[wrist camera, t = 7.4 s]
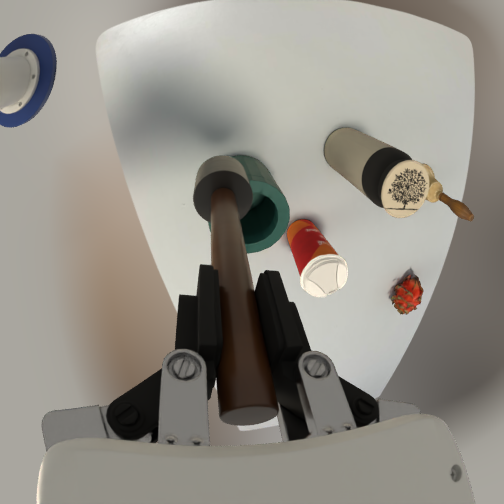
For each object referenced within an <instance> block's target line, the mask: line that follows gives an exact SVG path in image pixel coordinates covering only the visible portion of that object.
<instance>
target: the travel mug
mask: <svg viewBox="0 0 504 504" xmlns="http://www.w3.org/2000/svg"><path fill="white" fill-rule="evenodd" d="M324 153H325V158H326V161H327V162H328V164H329V165H330V166H331V167H332V168H333V169H334V170H336V171H337V172H338V173H339V174H341V175H342V176H343V177H344V178H345V179H347V180H348V181H349V182H350V183H351V184H353V185H354V186H355V187H356V188H357V189H359V190H360V191H361V192H362V193H363V194H364V195H366V196H367V197H368V198H369V199H370V200H371V201H372V202H373V203H375V204H376V205H377V206H379V207H382V208H384V209H385V210H386V212H387V213H388V214H390V215H391V216H393V217H396V218H404V217H408V216H410V215H412V214H413V213H415V212H416V211H417V210H418V209H419V208H420V207H421V206H422V204H423V203H424V201H425V199H426V197H427V194H428V191H429V176H428V173H427V171H426V169H425V167H424V166H423V165H422V164H421V163H419V162H417V161H414V160H412V159H411V157H410V156H409V155H407V154H406V153H404V152H402V151H400V150H398V149H396V148H394V147H392V146H390V145H388V144H386V143H384V142H382V141H380V140H377V139H375V138H373V137H371V136H369V135H366V134H364V133H362V132H359V131H357V130H354V129H352V128H340V129H338V130H336V131H334V132H333V133H332V134H331V135H330V136H329V138H328V139H327V141H326V144H325V149H324Z"/></svg>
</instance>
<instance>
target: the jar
mask: <svg viewBox="0 0 504 504" xmlns="http://www.w3.org/2000/svg"><path fill="white" fill-rule="evenodd" d="M232 158H234V159H236V160H237V161H239V162H240V163H241V165H242V166H243V167H244V169H245V172H246V175H247V177H248V180H249V183H250V186H251V188H252V192H253V202H252V205H251V208H250V210H249V211H248V213H247V214H246V215H245V216H244V217H243V218H242V219H240V222H241V227H242V232H243V237H244V242H245V247H246V252H247V253H254V252H259V251H262V250H264V249H266V248H269V247H271V246H272V245H273V244H274V243H276V242H277V241H278V240H279V239H280V238H281V237H282V235H283V234H284V232H285V231H286V229H287V226H288V223H289V219H290V214H289V206H288V203H287V201H286V198H285V196H284V195H283V193H282V192H281V190H280V188H279V187H278V185H277V184H276V182H275V180H274V179H273V177H272V176H271V174H270V172H269V171H268V169H267V168H266V167H265V166H264V165H263V164H262V163H261V162H260V161H259V160H257V159H255V158H253V157H249V156H244V155H238V156H233V157H232ZM208 223H209V228H210V232H211V223H210V222H208Z"/></svg>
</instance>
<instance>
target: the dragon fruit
mask: <svg viewBox="0 0 504 504" xmlns="http://www.w3.org/2000/svg"><path fill="white" fill-rule="evenodd" d="M404 280H405V281H404V282H403V284H402V283H401V284H398V286H397V285H396V287H395V290H394V291H395V293H396V295H395V296H393V297H392V298H391V300H392V299H395V300H394V301H393V300H392V301H393V302H392V305H393V303H395V305H394V307H395V308H396V309H398V310H397V311H398V312H399V313H400V314H404V313H406V315H407V314H408V313H409V312H411V311H412V310H413V309H414V310H416V309H417V308H416V306H417V305H418V304H420V303H421V297H422V294H423V288H422V287H421V283H420V281H419V278H418V277H417V276H416V275H415V278H412V279H411V275H409V276H408V277H405V279H404Z"/></svg>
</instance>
